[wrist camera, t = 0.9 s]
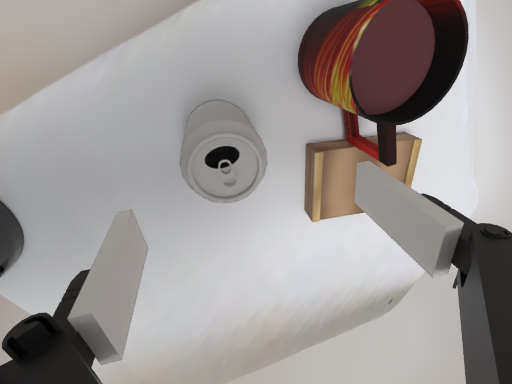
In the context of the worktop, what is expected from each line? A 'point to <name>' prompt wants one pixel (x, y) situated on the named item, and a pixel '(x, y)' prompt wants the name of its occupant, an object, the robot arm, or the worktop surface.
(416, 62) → the mug
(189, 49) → the worktop surface
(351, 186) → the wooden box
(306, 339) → the worktop surface
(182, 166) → the can
